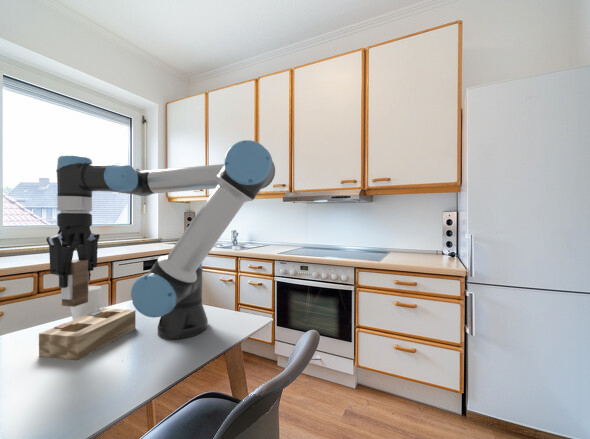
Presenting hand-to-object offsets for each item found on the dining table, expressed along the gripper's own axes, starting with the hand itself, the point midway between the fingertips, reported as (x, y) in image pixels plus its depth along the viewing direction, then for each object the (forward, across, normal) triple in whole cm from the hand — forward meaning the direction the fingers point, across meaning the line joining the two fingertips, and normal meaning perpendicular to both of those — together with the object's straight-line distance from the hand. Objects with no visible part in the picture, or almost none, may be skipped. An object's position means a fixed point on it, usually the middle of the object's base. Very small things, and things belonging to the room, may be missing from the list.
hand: (75, 296), depth 75 cm
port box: (+15, -5, 0) cm, 16 cm away
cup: (+15, -16, -14) cm, 26 cm away
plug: (+2, 0, 0) cm, 2 cm away
